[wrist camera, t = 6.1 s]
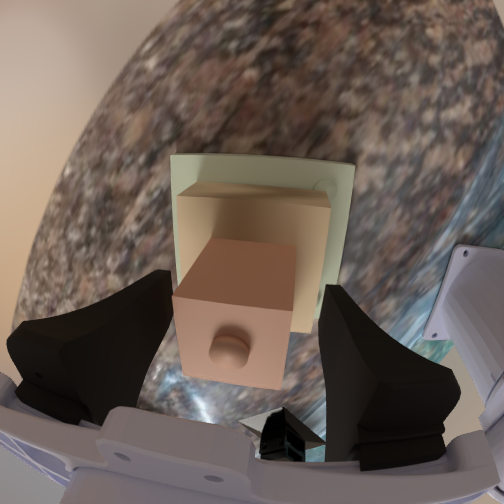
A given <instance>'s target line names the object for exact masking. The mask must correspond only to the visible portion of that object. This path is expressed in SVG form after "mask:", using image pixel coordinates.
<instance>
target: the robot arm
mask: <svg viewBox="0 0 504 504" xmlns="http://www.w3.org/2000/svg"><path fill="white" fill-rule="evenodd" d="M465 250H466V253H465V254H463V253H464V251H465ZM172 295H173V289H172V279H171V271H168V270H159V269H158V270H155V271H153V272H151V273H150V274H148V275H146V276H144V277H143V278H141V279H139V280H138V281H136V282H134V283H133V284H131V285H129V286H128V287H126V288H124V289H122V290H120V291H119V292H117V293H115V294H113V295H111V296H109V297H108V298H105V299H103V300H101V301H99V302H97V303H94V304H92V305H90V306H87V307H84V308H81V309H78V310H75V311H72V312H69V313H66V314H62V315H58V316H54V317H49V318H44V319H37V320H29V321H23V322H22V323H21V324H20V325H19V326H18V327H17V329H16V330H15V331H14V332H13V333H12V334H11V335H10V336H9V337H8V339H7V349H8V352H9V354H10V357H11V359H12V361H13V362H14V364H15V366H16V368H17V369H18V371H19V373H20V375H21V376H22V378H23V381H22V382H21V384H20V385H19V386H18V387H17V386H16V384H15V383H14V381H13V380H12V379H11V378H10V377H8V376H7V375H5V374H3V373H1V372H0V446H2V447H3V448H5V449H6V450H7V451H9V452H10V453H12V454H13V455H14V456H16V457H17V458H19V459H20V460H22V461H23V462H25V463H26V464H28V465H29V466H31V467H32V468H34V469H36V470H37V471H39V472H40V473H42V474H43V475H45V476H47V477H48V478H50V479H52V480H53V481H55V482H57V483H58V484H60V485H62V486H64V487H66V490H65V492H64V495H63V497H62V499H61V502H60V504H471V503H472V502H474V501H475V500H477V499H478V498H480V497H481V496H483V495H484V494H486V493H488V494H489V495H490V496H491V497H492V498H494V499H495V500H497V501H499V502H500V503H502V504H504V250H503V249H495V248H488V247H480V246H473V245H465V244H458V245H456V246H455V247H454V249H453V252H452V255H451V258H450V262H449V265H448V268H447V271H446V274H445V277H444V280H443V283H442V286H441V288H440V291H439V294H438V297H437V299H436V302H435V305H434V307H433V310H432V312H431V315H430V317H429V320H428V322H427V324H426V327H425V329H424V331H423V338H424V339H425V340H447V339H451V340H452V341H453V343H454V345H455V347H456V349H457V351H458V353H459V354H460V356H461V358H462V360H463V362H464V364H465V366H466V368H467V370H468V372H469V373H470V376H471V378H472V380H473V382H474V384H475V386H476V388H477V390H478V392H479V395H480V397H481V399H482V401H483V403H484V406H485V410H484V412H483V413H482V414H481V415H480V417H479V420H480V422H481V425H482V428H483V430H478V431H474V432H471V433H467V434H463V435H460V436H458V437H456V438H454V439H453V440H452V441H451V442H450V443H449V444H448V445H447V447H445V444H444V440H443V437H442V434H443V433H444V432H445V427H444V424H443V422H444V420H445V419H446V417H448V415H449V414H450V413H451V411H452V410H453V409H454V407H455V406H456V404H457V402H458V400H459V399H460V395H461V390H460V387H459V385H458V382H457V380H456V378H455V376H454V373H453V371H452V369H449V368H447V367H444V366H442V365H440V364H437V363H435V362H432V361H430V360H428V359H426V358H424V357H422V356H420V355H418V354H417V353H415V352H413V351H411V350H410V349H408V348H407V347H405V346H404V345H402V344H401V343H399V342H398V341H396V340H395V339H393V338H392V337H391V336H390V335H388V334H387V333H386V332H385V331H383V330H382V329H381V328H380V327H379V326H377V325H376V324H375V323H374V322H373V321H372V320H371V319H370V318H369V317H368V316H367V315H366V314H365V313H364V312H363V311H362V310H361V308H360V307H359V306H358V305H357V304H356V303H355V302H354V301H353V299H352V298H351V297H350V296H349V295H348V294H347V292H346V291H345V290H344V289H343V288H342V287H341V286H340V285H333V284H326V285H325V291H324V296H323V301H322V306H321V311H320V316H319V321H318V336H319V348H320V354H321V360H322V367H323V373H324V380H325V387H326V448H325V462H284V461H268V460H263V459H259V458H255V449H256V448H255V446H254V444H253V442H252V440H251V439H250V438H249V437H248V436H246V435H245V434H243V433H241V432H239V431H238V430H236V429H233V428H229V427H225V426H221V425H218V424H211V423H205V422H199V421H193V420H188V419H182V418H177V417H172V416H168V415H163V414H159V413H154V412H150V411H146V410H142V409H138V408H135V407H136V404H137V401H138V397H139V394H140V391H141V388H142V385H143V382H144V379H145V376H146V373H147V371H148V368H149V366H150V364H151V362H152V360H153V358H154V356H155V354H156V352H157V350H158V348H159V346H160V344H161V342H162V340H163V338H164V336H165V334H166V332H167V330H168V328H169V325H170V323H171V320H172V317H173V314H174V310H173V302H172ZM434 333H435V334H434Z"/></svg>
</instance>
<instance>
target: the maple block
mask: <svg viewBox="0 0 504 504" xmlns="http://www.w3.org/2000/svg"><path fill="white" fill-rule="evenodd" d="M176 198H177V219H178V236H179V251H180V265H181V277H182V280H183V278H184V277H185V275H186V274H187V272H188V271H189V269H190V268H191V266H192V265H193V263H194V262H195V260H196V259H197V257H198V256H199V254H200V253H201V251H202V250H203V249H204V247H205V246H206V244H207V243H208V241H209V240H210V238H219V239H230V240H240V241H251V242H261V243H272V244H282V245H292V246H296V266H295V286H294V303H293V315H292V322H291V329H290V331H291V332H301V333H311V329H312V324H313V319H314V314H315V308H316V303H317V298H318V292H319V286H320V280H321V275H322V269H323V262H324V256H325V249H326V243H327V236H328V229H329V222H330V214H331V206H330V203H329V199H328V196H327V193H326V191H318V190H308V189H298V188H287V187H276V186H263V185H250V184H234V183H217V182H195V183H194V184H192V185H191V186H190V187H188V188H187V189H185V190H184V191H183V192H181V193H180V194H178V195H177V196H176Z"/></svg>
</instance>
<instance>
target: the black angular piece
mask: <svg viewBox="0 0 504 504" xmlns="http://www.w3.org/2000/svg"><path fill="white" fill-rule="evenodd" d="M239 422H240V423H241V424H242V425H243V426H245V427H246V428H247V429H249V430H250V431H251V432H253V433H254V434H256V435H257V436H258V437H260V438H261V440H260V449H259V454H261V458H260V459H263V460H268V461H284V462H305V450H307V449H311V448H315V447H318V446H322V445H325V444H326V442H325V441H324V440H322V439H321V438H320V437H319V436H318V435H316V434H315V433H314V432H313V431H311V430H310V429H309V428H308V427H307V426H305V425H304V424H303V423H302V422H301V421H300V420H298V419H297V418H296V417H295V416H294V415H293V414H291V413H290V412H289V411H288V410H287V409H286V408H284V407H281V408H278V409H275V410H272V411H269V412H266V413H263V414H259V415H256V416H253V417H250V418H247V419H243V420H240V421H239Z"/></svg>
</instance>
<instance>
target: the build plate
mask: <svg viewBox="0 0 504 504" xmlns="http://www.w3.org/2000/svg"><path fill="white" fill-rule="evenodd" d="M354 172H355V165H353V164H352V163H344V162H336V161H327V160H317V159H307V158H296V157H283V156H268V155H250V154H225V153H174V154H172V155H171V190H172V211H173V228H174V243H175V256H176V268H177V279H178V286H179V284H180V283H181V281H182V277H181V265H180V251H179V236H178V219H177V198H176V196H177V195H178V194H180V193H181V192H183V191H184V190H185V189H187V188H188V187H190V186H191V185H192V184H194V183H195V182H217V183H234V184H250V185H263V186H276V187H287V188H298V189H308V190H318V191H326V193H327V196H328V199H329V203H330V206H331V214H330V222H329V229H328V236H327V243H326V249H325V256H324V262H323V269H322V275H321V280H320V286H319V292H318V298H317V303H316V308H315V314H314V318H316V319H319V316H320V311H321V306H322V301H323V296H324V291H325V285H326V284H333V285H336V284H337V279H338V274H339V269H340V264H341V258H342V253H343V247H344V241H345V235H346V229H347V223H348V216H349V210H350V203H351V196H352V188H353V180H354Z"/></svg>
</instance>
